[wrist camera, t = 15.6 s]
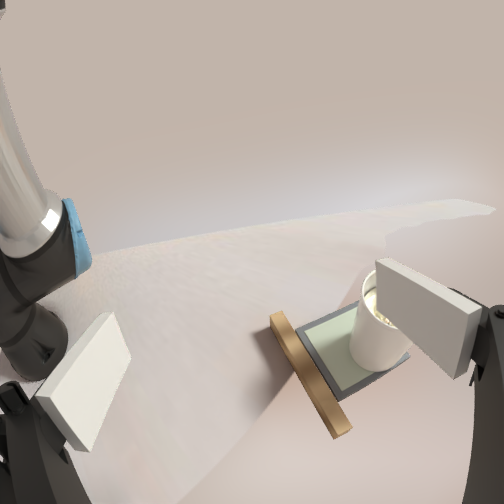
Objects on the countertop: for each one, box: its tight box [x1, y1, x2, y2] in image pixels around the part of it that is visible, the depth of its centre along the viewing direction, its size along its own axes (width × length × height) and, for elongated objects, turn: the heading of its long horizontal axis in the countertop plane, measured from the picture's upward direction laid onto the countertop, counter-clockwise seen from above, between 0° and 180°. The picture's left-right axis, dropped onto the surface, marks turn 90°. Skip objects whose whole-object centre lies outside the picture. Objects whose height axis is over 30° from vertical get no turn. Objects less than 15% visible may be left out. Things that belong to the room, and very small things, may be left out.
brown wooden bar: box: [270, 311, 352, 439], centre depth 34 cm, size 20×2×3 cm, turn 22°
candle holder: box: [349, 269, 414, 372], centre depth 32 cm, size 10×10×12 cm
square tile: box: [295, 301, 410, 402], centre depth 38 cm, size 13×13×1 cm
